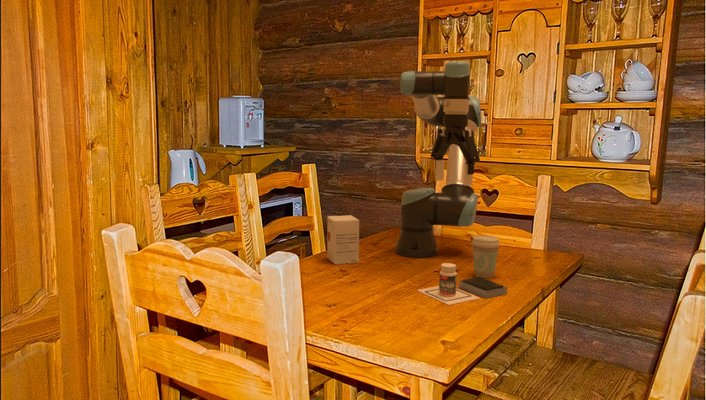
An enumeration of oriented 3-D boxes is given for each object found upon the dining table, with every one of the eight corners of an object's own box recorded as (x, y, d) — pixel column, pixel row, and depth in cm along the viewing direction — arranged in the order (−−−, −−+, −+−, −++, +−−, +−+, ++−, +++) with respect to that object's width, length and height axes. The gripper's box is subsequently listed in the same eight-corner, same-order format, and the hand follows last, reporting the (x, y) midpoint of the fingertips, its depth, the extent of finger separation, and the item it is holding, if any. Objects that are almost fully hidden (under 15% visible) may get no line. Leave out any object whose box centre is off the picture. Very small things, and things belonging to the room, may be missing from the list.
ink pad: (458, 287, 162) (459, 279, 162) (479, 283, 166) (479, 276, 166) (485, 298, 153) (485, 290, 152) (506, 293, 157) (507, 286, 156)
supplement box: (326, 258, 194) (326, 215, 191) (351, 256, 197) (351, 214, 194) (333, 265, 185) (334, 220, 183) (359, 263, 188) (359, 219, 186)
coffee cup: (465, 273, 177) (466, 236, 175) (488, 270, 180) (489, 234, 178) (479, 280, 169) (481, 242, 167) (503, 278, 172) (505, 240, 170)
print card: (416, 290, 159) (416, 289, 159) (447, 285, 164) (447, 284, 164) (448, 305, 147) (448, 304, 147) (480, 298, 152) (480, 297, 152)
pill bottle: (438, 296, 154) (439, 266, 152) (439, 290, 158) (440, 262, 157) (455, 297, 153) (457, 267, 151) (456, 292, 157) (457, 263, 156)
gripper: (421, 113, 179) (419, 179, 182) (474, 113, 157) (471, 188, 161) (439, 113, 182) (437, 178, 186) (494, 113, 161) (490, 186, 164)
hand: (453, 182), depth 173 cm, fingers open, 13 cm apart
